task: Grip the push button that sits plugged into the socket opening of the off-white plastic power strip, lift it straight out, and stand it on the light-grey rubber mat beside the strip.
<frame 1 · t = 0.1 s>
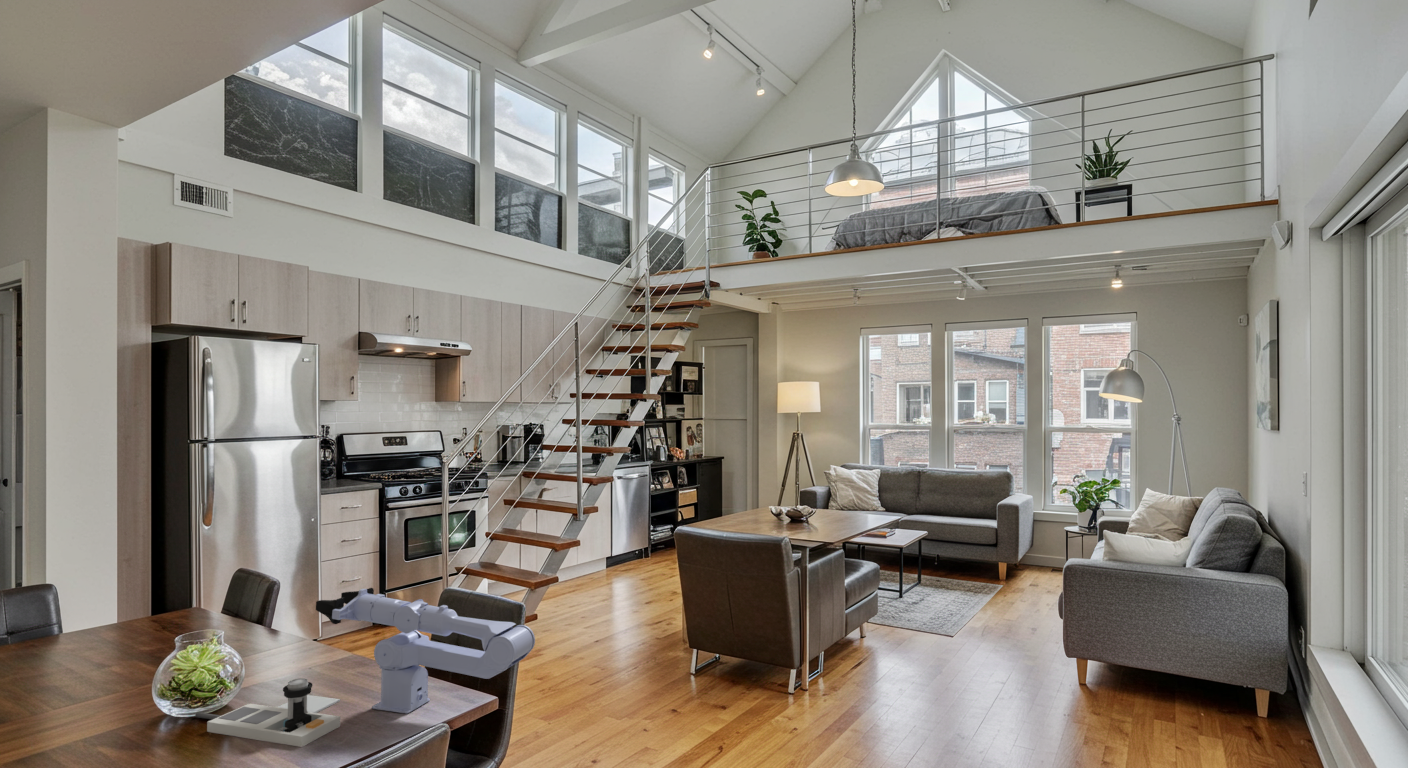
hand: (329, 601, 173), 22 cm above the table, tool horizontal, fingers open, 7 cm apart
power strip: (274, 728, 154), on the table
push button: (293, 733, 153), resting in power strip
mat: (304, 706, 166), on the table
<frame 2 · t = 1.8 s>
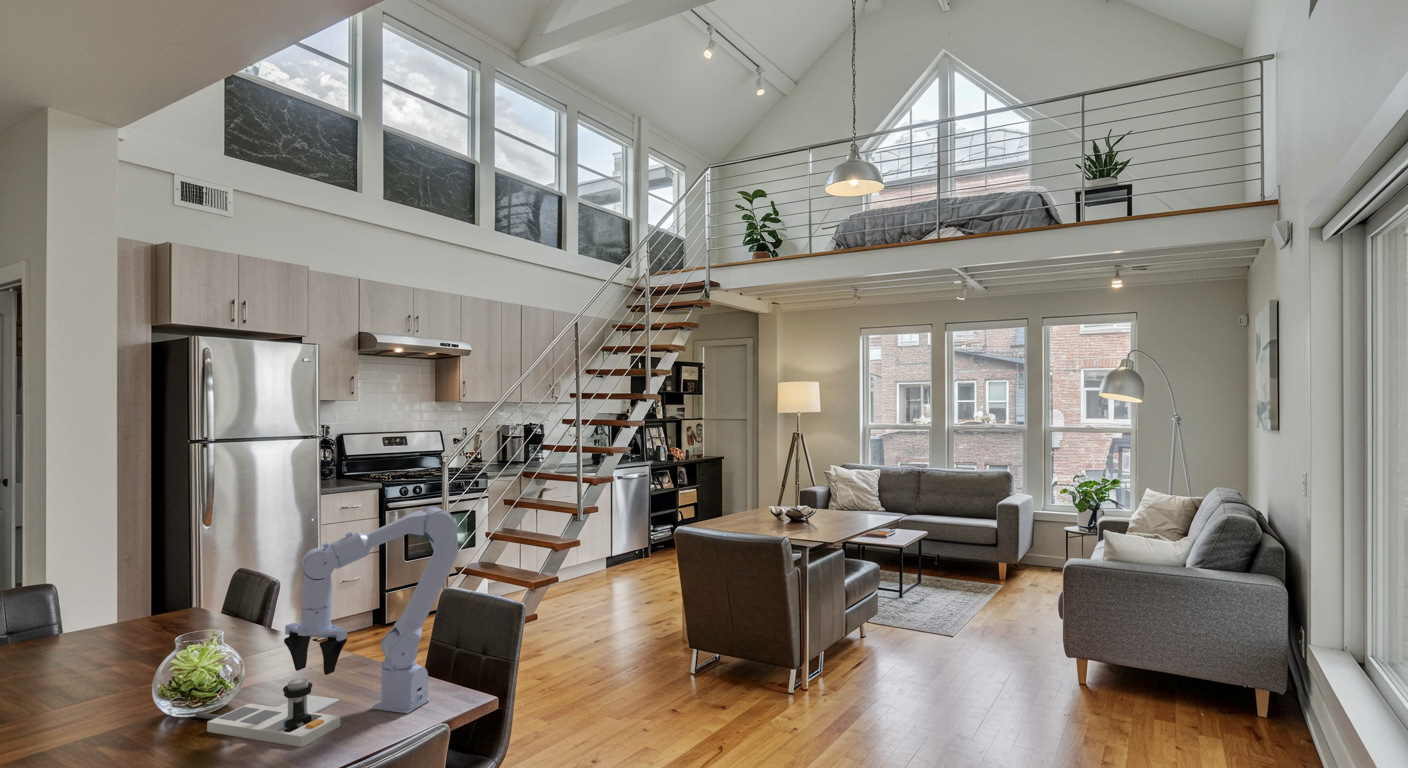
hand: (314, 671, 158), 10 cm above the table, tool pointing down, fingers open, 7 cm apart
nothing on the table moved.
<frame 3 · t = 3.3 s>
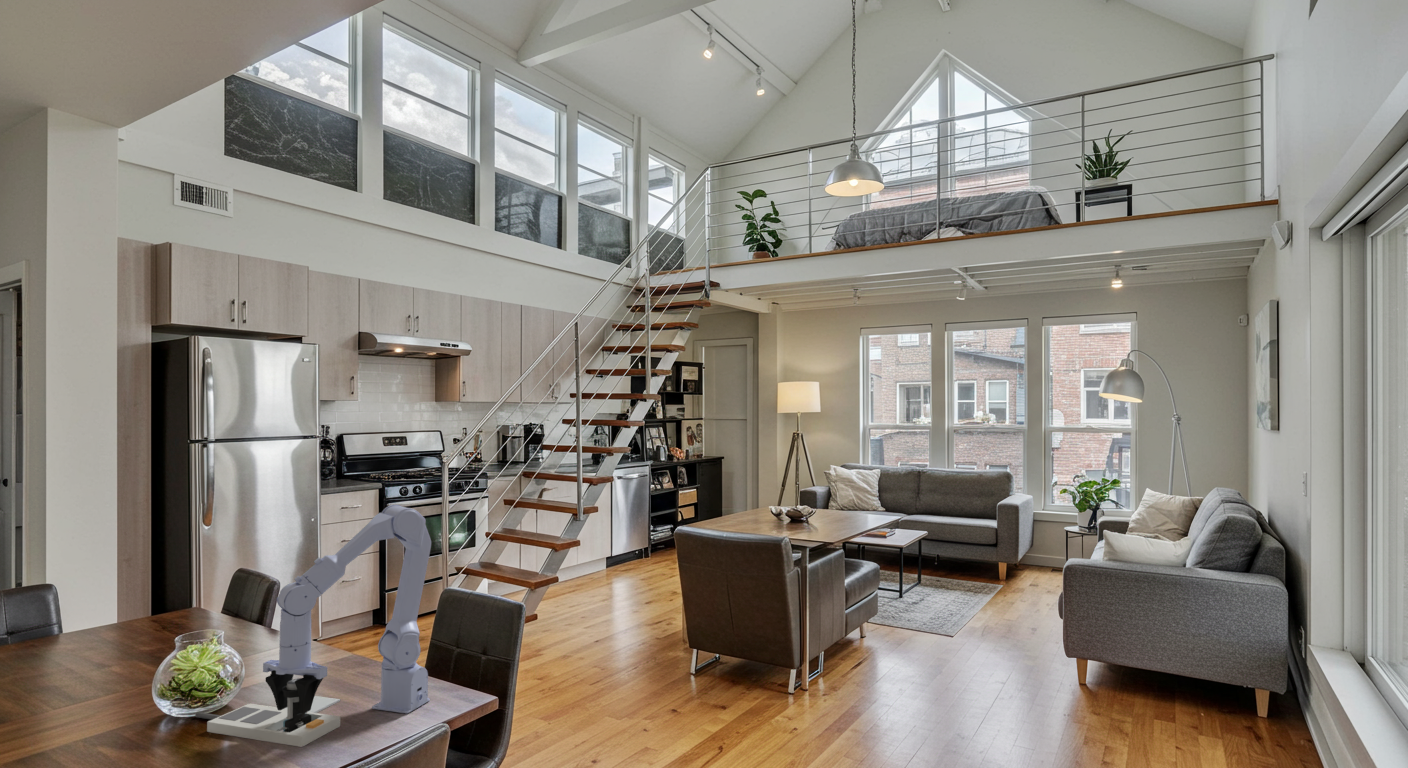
hand: (294, 710, 153), 4 cm above the table, tool pointing down, fingers closed on push button, 5 cm apart
push button: (293, 732, 153), resting in power strip, touching gripper
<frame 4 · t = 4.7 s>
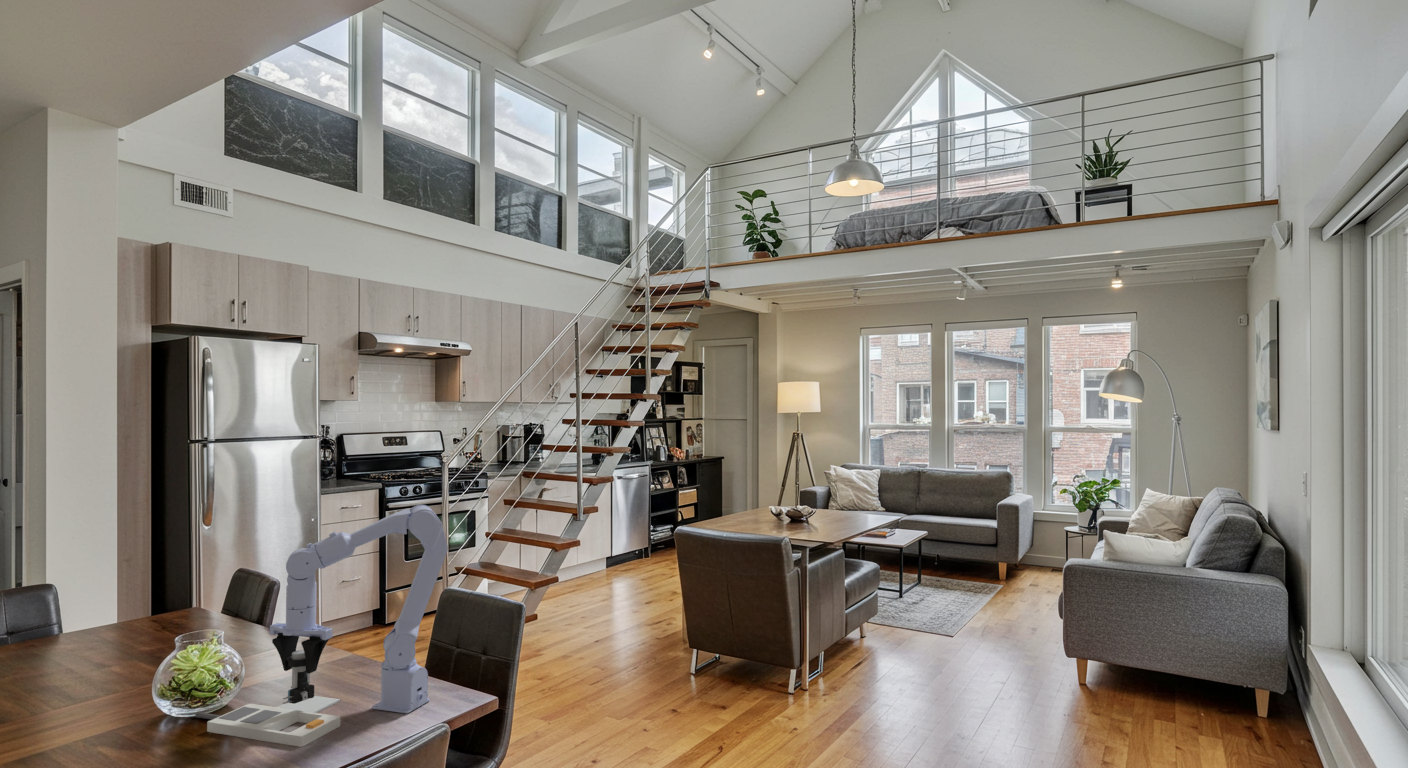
hand: (300, 670, 159), 10 cm above the table, tool pointing down, fingers closed on push button, 5 cm apart
push button: (297, 702, 158), point 4 cm above the table, touching gripper
when the fingers open (6 cm above the table, at t = 6.5 s): push button stays where it is, resting on mat.
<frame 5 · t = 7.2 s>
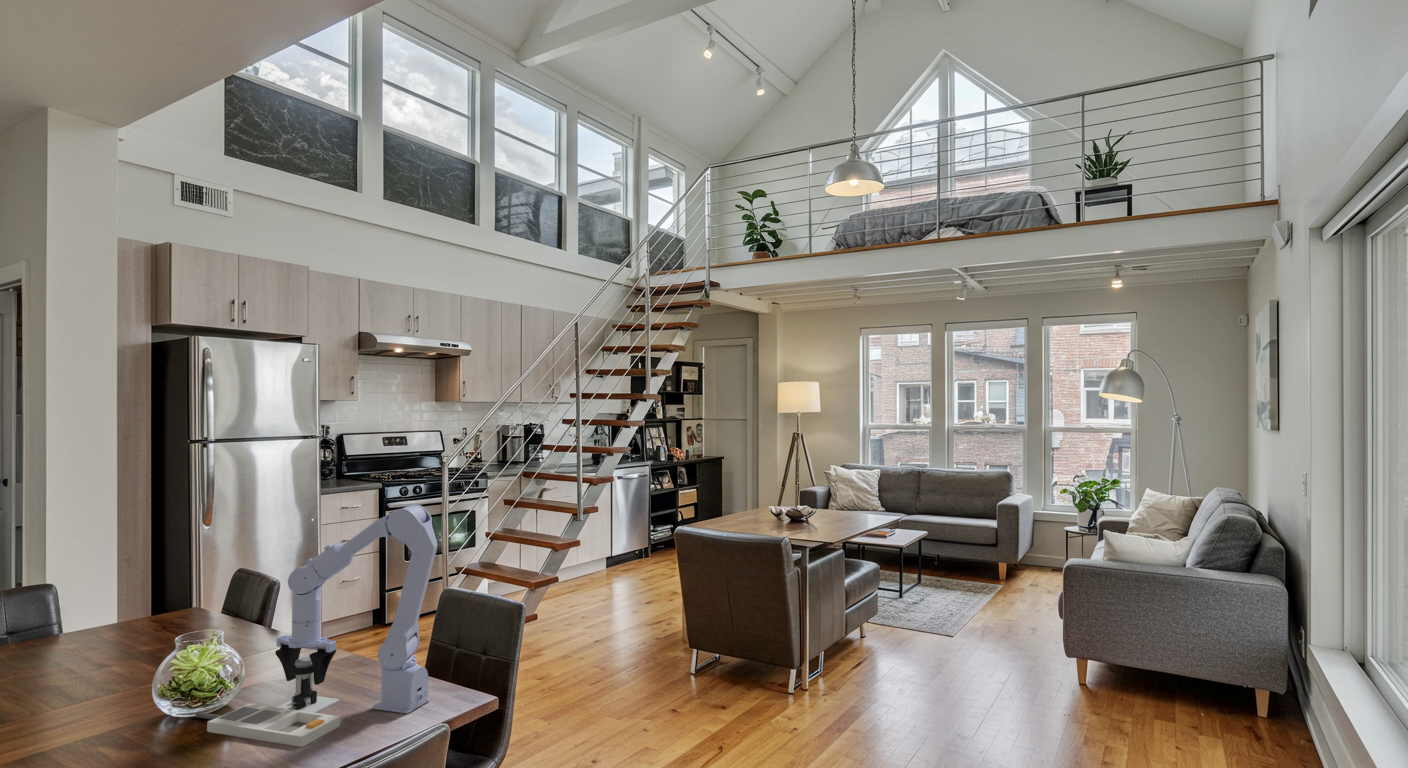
hand: (305, 681, 166), 6 cm above the table, tool pointing down, fingers open, 7 cm apart
push button: (301, 707, 165), resting on mat
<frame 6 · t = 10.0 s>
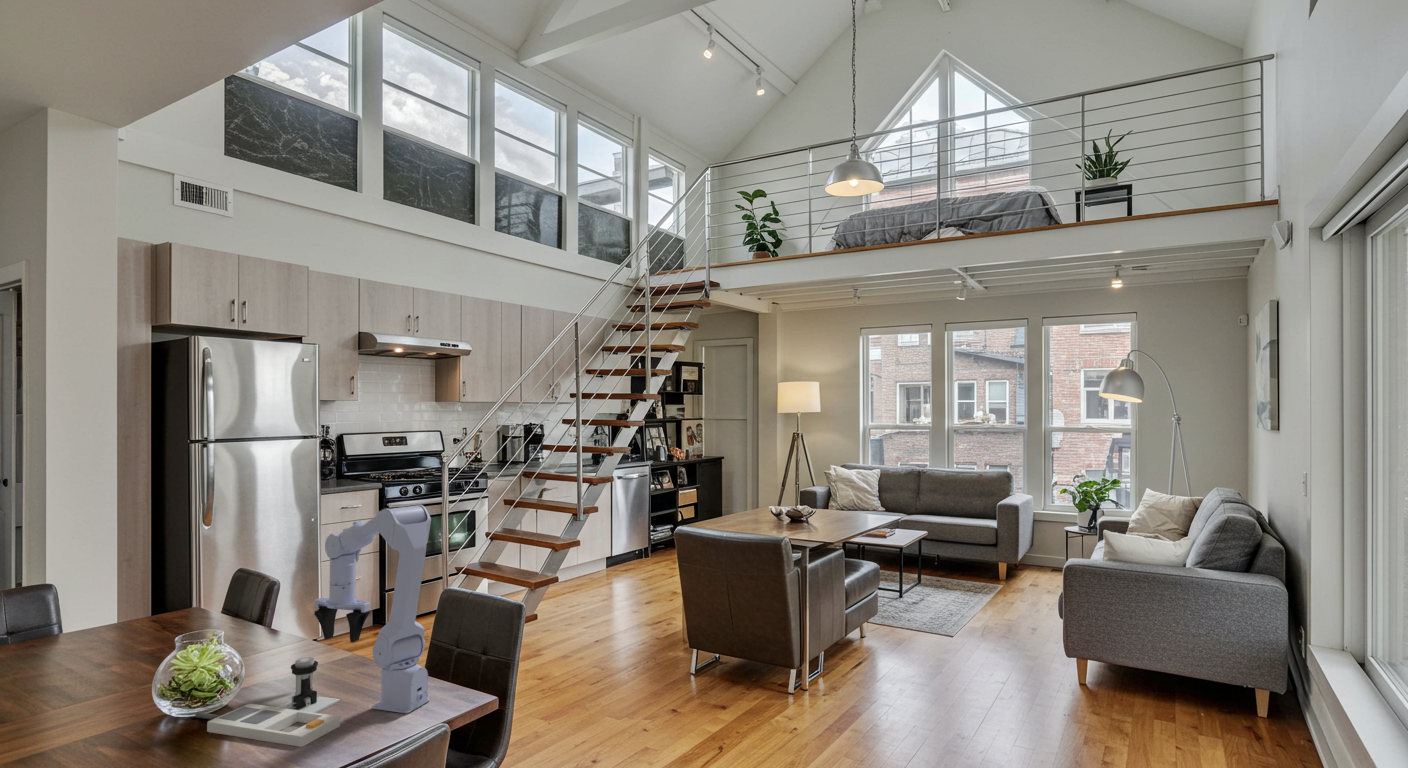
hand: (341, 639, 180), 10 cm above the table, tool pointing down, fingers open, 7 cm apart
nothing on the table moved.
at the end: push button inside the target area on the mat (1.0 cm from its centre), point 0.2 cm above the mat's base; push button tilted 0°; the gripper is holding nothing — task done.
